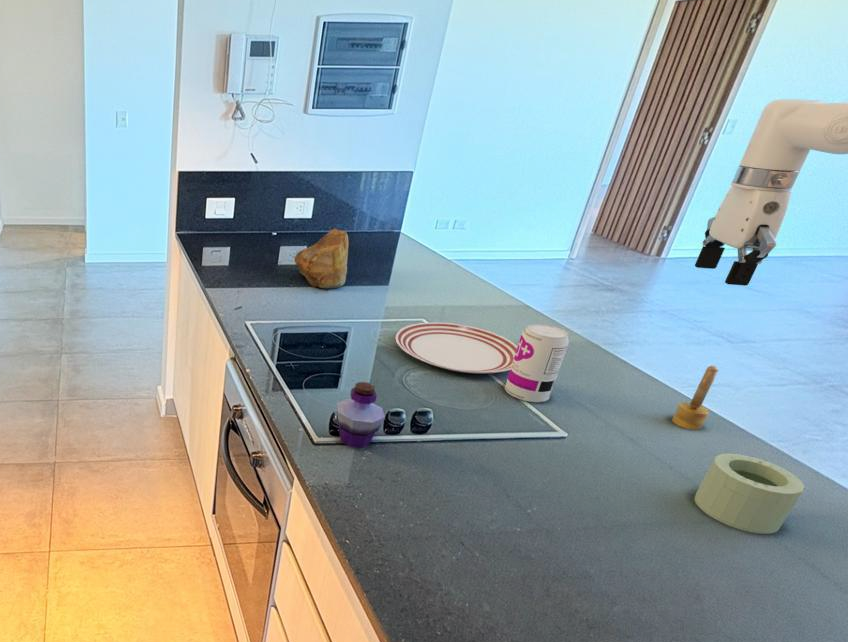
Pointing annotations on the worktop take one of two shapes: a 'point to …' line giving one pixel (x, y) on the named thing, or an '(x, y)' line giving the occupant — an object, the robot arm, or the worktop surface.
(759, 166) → the robot arm
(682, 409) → the peg with round base
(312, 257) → the rough brown rock
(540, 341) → the supplement can
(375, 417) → the potion bottle
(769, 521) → the pale green hollow cylinder
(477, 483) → the worktop surface
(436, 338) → the dinner plate
